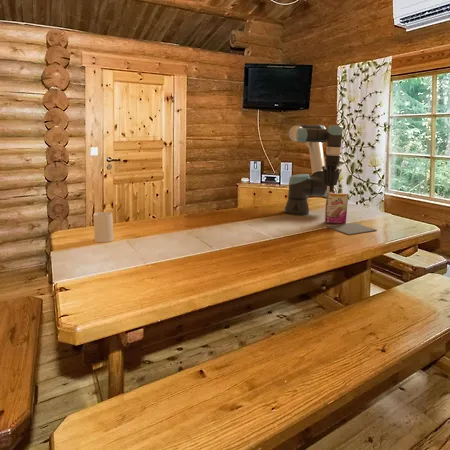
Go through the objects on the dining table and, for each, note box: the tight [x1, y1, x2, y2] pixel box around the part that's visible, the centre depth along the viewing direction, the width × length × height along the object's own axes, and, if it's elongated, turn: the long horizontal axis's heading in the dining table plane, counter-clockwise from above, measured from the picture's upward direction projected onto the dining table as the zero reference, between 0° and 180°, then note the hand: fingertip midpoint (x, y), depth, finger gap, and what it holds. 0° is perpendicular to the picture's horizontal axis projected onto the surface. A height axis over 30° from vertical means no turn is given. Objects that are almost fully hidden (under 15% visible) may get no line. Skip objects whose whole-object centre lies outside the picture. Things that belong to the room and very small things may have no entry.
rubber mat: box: [326, 222, 378, 236], centre depth 208 cm, size 16×20×1 cm
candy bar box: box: [324, 192, 349, 224], centre depth 217 cm, size 11×5×16 cm, turn 85°
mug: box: [93, 211, 115, 244], centre depth 178 cm, size 12×8×12 cm
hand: (328, 197), depth 221 cm, fingers closed
